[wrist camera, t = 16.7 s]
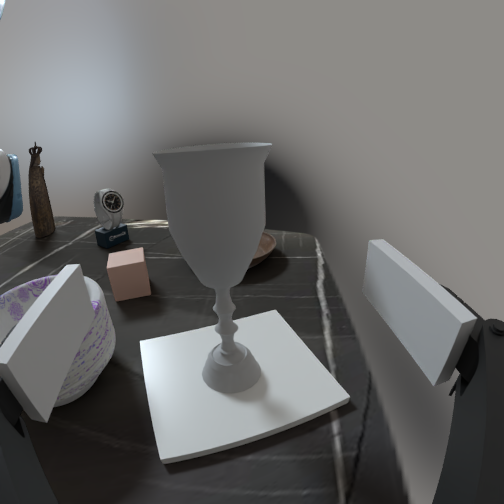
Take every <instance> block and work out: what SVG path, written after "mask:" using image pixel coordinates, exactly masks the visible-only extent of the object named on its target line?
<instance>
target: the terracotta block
mask: <svg viewBox="0 0 504 504" xmlns="http://www.w3.org/2000/svg"><path fill="white" fill-rule="evenodd" d="M107 272H108V276H109V279H110V283H111V287H112V290H113V294H114V297H115V301H122V300H127V299H132V298H137V297H143V296H148V295H151V290H150V283H149V276H148V272H147V267H146V262H145V257H144V251H143V247H142V248H136V249H131V250H126V251H121V252H115V253H110V254H109V258H108V264H107Z"/></svg>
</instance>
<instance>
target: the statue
mask: <svg viewBox="0 0 504 504" xmlns="http://www.w3.org/2000/svg"><path fill="white" fill-rule="evenodd" d="M37 148H38V151H37V153H36V149H37ZM40 148H41V147H37V146H36V142H35V146H34V147H33V148H30V149H29V153H30V154H31V162H30V168H29V199H30V209H31V215H32V221H33V226H34V231H35V235H36V237H37V238H41V237H45V236H47V235H49V234H51V233H52V232H53V231H54V230H55V224H54V219H53V214H52V209H51V205H50V200H49V196H48V192H47V187H46V183H45V180H44V168H43V167H41V168H40V166H38V165H40V162H41V161H40V156H39V154H40V153H41V152H42V148H41V150H40ZM31 149H32V152H33V154H32V152H31Z"/></svg>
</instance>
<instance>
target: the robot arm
mask: <svg viewBox="0 0 504 504" xmlns="http://www.w3.org/2000/svg"><path fill="white" fill-rule="evenodd" d="M4 5H5V0H0V19H1V17H2V13H3V10H4ZM22 211H23V202H22V194H21V182H20V173H19V164H18V158H17V156H16V155H15V154H12V155H10V154H8V155H6V154H5V153H4V152H3V151H2V150H1V149H0V224H2V223H4V222H10V221H11V220H12V219H15V218H17V217H19V216H20V215H21V214H22ZM362 293H363V294H364V295H365V296H366V298H367V299H368V300H369V301H370V303H371V304H372V305H373V306H374V308H375V309H376V310H377V312H378V313H379V314H380V315H381V316H382V318H383V319H384V320H385V322H386V323H387V324H388V326H389V327H390V328H391V329H392V331H393V332H394V333H395V335H396V336H397V337H398V339H399V340H400V341H401V342H402V344H403V345H404V346H405V348H406V349H407V350H408V352H409V353H410V354H411V356H412V357H413V358H414V360H415V361H416V363H417V364H418V365H419V367H420V368H421V369H422V371H423V372H424V373H425V375H426V376H427V378H428V379H429V380H430V382H431V383H432V385H433V386H436V385H439V384H441V383H443V382H446V381H448V380H449V379H450V377H451V376H452V374H453V371H454V370H455V368H456V369H457V370H458V371H459V373H460V375H459V376H458V378H457V380H456V382H455V384H454V386H453V388H452V389H451V391H450V394H449V395H450V396H451V395H452V394H453V392H454V391H455V390H456V393H455V402H454V410H453V417H452V423H451V429H450V435H449V440H448V446H447V451H446V455H445V459H444V464H443V468H442V472H441V476H440V479H439V483H438V486H437V490H436V493H435V496H434V500H433V503H432V504H504V322H502V321H500V320H497V319H488V320H486V321H485V320H483V318H482V317H480V316H479V315H478V314H477V313H476V312H475V311H474V310H473V309H472V308H471V307H469V306H468V305H467V304H466V303H464V302H463V300H462V299H460V298H459V297H457V295H456V294H455V293H453V292H452V291H451V290H450V289H448V288H446V287H444V286H442V285H440V284H438V283H437V282H436V281H435V280H433V279H432V278H431V277H430V276H429V275H427V274H426V273H425V272H424V271H423V270H421V269H420V268H419V267H418V266H416V265H415V264H414V263H413V262H411V261H410V260H409V259H408V258H406V257H405V256H404V255H403V254H401V253H400V252H399V251H398V250H396V249H395V248H394V247H392V246H391V245H390V244H388V243H387V242H386V241H385V240H383V239H381V240H369V246H368V254H367V262H366V269H365V277H364V283H363V290H362ZM95 316H96V315H95V312H94V309H93V306H92V303H91V300H90V297H89V293H88V290H87V287H86V284H85V280H84V277H83V273H82V270H81V266H80V264H74V265H66V266H65V267H64V268H63V270H62V271H61V272H60V273H59V274H58V275H57V276H56V277H55V279H54V280H53V281H52V282H51V283H50V284H49V285H48V287H47V288H46V289H45V290H44V291H43V293H42V294H41V295H40V296H39V297H38V299H37V300H36V301H35V302H34V304H33V305H32V306H31V307H30V309H29V310H28V311H27V312H26V314H25V315H24V316H23V317H22V319H21V320H20V321H19V322H18V323H17V324H16V325H15V326H14V327H12V329H11V330H10V331H9V333H8V334H7V335H6V338H4V339H3V341H2V342H1V344H0V504H59V503H58V501H57V499H56V497H55V495H54V493H53V491H52V489H51V487H50V485H49V483H48V481H47V479H46V477H45V474H44V472H43V470H42V467H41V465H40V463H39V460H38V458H37V455H36V453H35V450H34V448H33V445H32V442H31V439H30V437H29V434H28V431H27V428H26V425H25V422H24V420H23V418H22V417H21V416H20V414H21V412H22V410H23V409H24V411H25V412H26V413H27V415H28V416H29V417H30V418H31V419H32V420H36V421H41V422H45V423H47V422H48V419H49V417H50V414H51V411H52V409H53V406H54V404H55V401H56V399H57V397H58V394H59V392H60V389H61V387H62V385H63V382H64V380H65V378H66V376H67V373H68V371H69V369H70V367H71V364H72V362H73V360H74V358H75V356H76V354H77V352H78V349H79V347H80V345H81V343H82V341H83V339H84V337H85V335H86V333H87V331H88V329H89V327H90V325H91V323H92V321H93V319H94V317H95Z"/></svg>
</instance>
